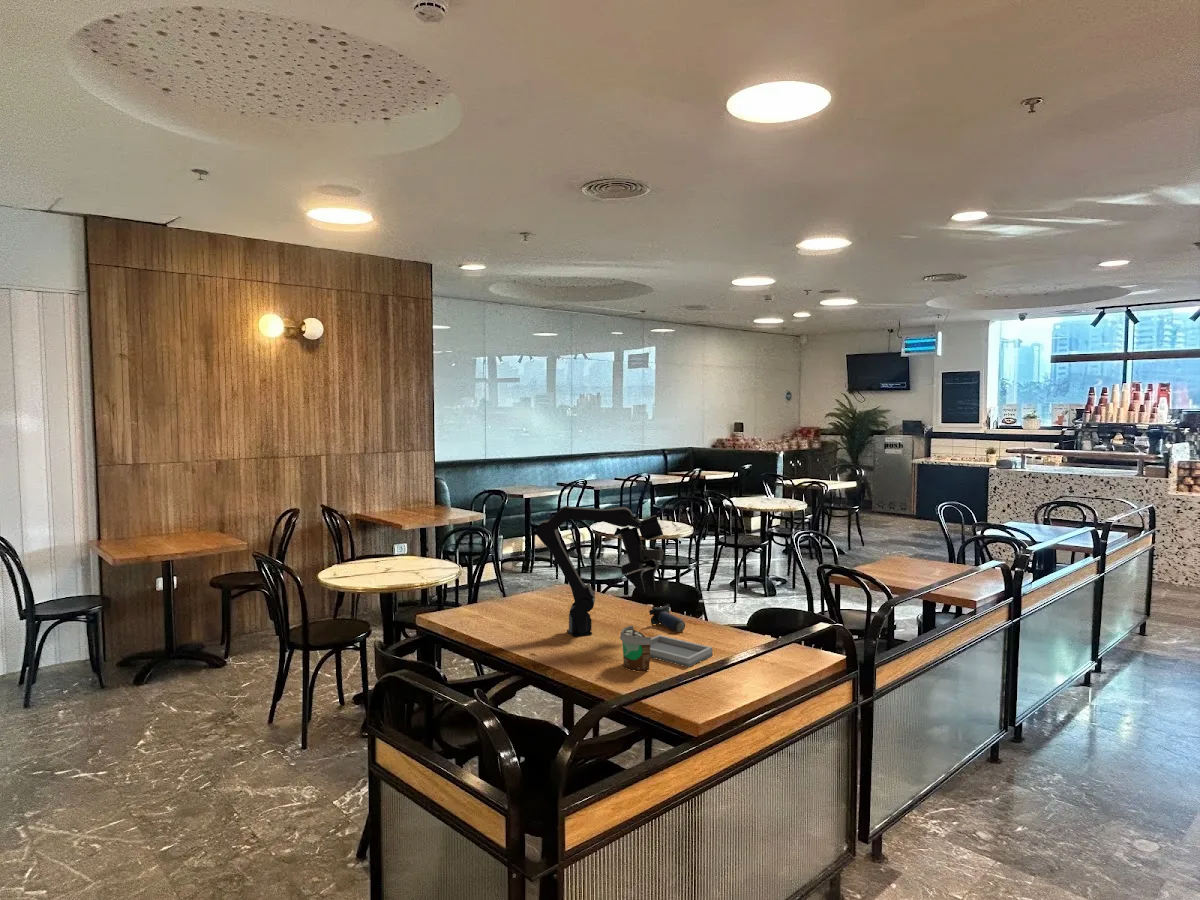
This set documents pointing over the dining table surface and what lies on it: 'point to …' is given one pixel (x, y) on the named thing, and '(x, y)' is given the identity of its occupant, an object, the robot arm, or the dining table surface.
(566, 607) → the dining table surface
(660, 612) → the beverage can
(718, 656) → the dining table surface
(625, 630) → the food container
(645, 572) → the robot arm
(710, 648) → the dock
